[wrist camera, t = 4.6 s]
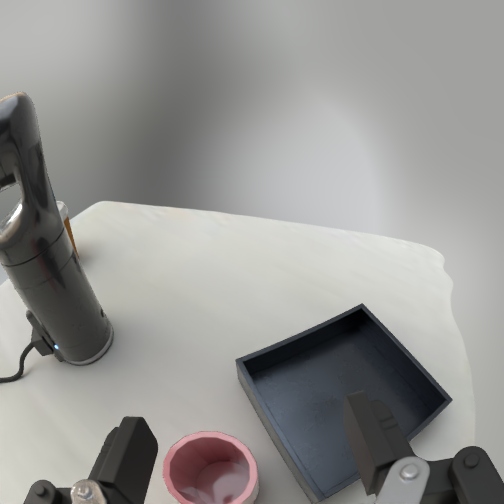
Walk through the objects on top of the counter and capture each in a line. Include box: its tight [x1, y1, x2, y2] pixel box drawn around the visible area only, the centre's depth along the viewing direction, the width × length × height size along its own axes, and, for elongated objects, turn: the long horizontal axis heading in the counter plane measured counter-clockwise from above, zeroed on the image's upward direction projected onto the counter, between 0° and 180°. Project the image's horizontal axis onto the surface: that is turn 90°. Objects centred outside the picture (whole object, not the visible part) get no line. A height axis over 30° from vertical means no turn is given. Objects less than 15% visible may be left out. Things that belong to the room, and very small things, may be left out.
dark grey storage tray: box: [235, 303, 452, 504], centre depth 27 cm, size 17×17×4 cm
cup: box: [163, 431, 259, 504], centre depth 18 cm, size 6×6×10 cm
